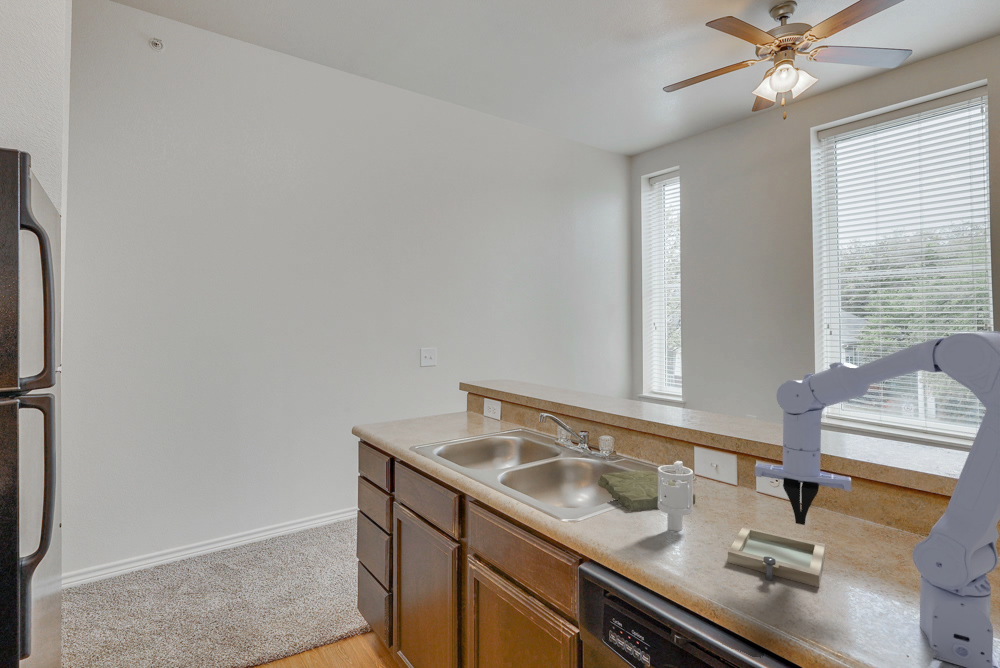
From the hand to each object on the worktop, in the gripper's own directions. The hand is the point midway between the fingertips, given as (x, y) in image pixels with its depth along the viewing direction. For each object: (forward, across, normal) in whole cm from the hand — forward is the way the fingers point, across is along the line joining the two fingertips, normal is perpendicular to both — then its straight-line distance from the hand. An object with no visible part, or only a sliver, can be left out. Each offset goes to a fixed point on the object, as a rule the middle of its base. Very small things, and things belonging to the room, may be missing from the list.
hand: (800, 522), depth 87 cm
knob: (+9, +4, +8) cm, 13 cm away
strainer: (+10, +23, -4) cm, 25 cm away
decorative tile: (+10, +37, -24) cm, 45 cm away
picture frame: (+8, +4, 0) cm, 9 cm away
